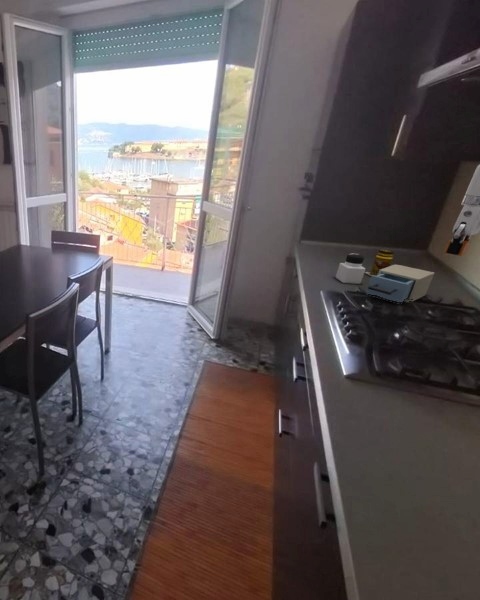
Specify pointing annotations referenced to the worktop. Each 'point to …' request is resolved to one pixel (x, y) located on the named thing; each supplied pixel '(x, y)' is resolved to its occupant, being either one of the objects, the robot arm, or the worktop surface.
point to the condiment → (381, 261)
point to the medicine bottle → (351, 269)
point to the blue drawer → (390, 287)
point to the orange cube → (463, 249)
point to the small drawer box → (419, 275)
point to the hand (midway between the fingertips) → (455, 252)
